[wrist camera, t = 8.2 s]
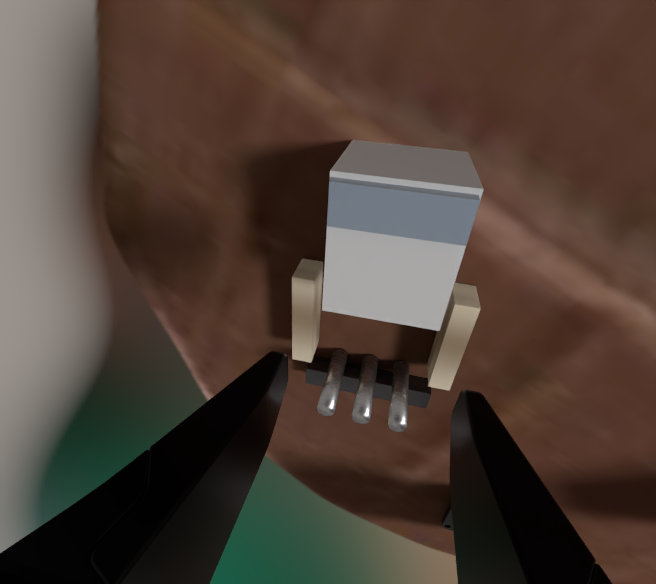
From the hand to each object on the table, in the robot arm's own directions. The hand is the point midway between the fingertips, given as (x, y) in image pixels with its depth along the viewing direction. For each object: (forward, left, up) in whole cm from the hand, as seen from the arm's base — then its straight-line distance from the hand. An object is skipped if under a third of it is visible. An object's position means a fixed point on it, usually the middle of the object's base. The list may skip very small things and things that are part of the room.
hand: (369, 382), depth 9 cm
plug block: (0, 0, -11) cm, 11 cm away
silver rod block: (-10, 0, -11) cm, 15 cm away
